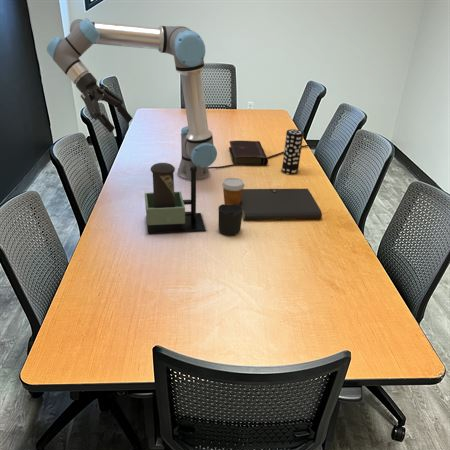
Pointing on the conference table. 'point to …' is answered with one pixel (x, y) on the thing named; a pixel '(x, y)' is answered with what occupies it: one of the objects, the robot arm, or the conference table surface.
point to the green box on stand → (174, 213)
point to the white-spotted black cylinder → (292, 151)
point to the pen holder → (230, 219)
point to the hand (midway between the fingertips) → (121, 125)
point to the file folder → (279, 204)
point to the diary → (248, 153)
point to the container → (163, 185)
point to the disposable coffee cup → (232, 190)
